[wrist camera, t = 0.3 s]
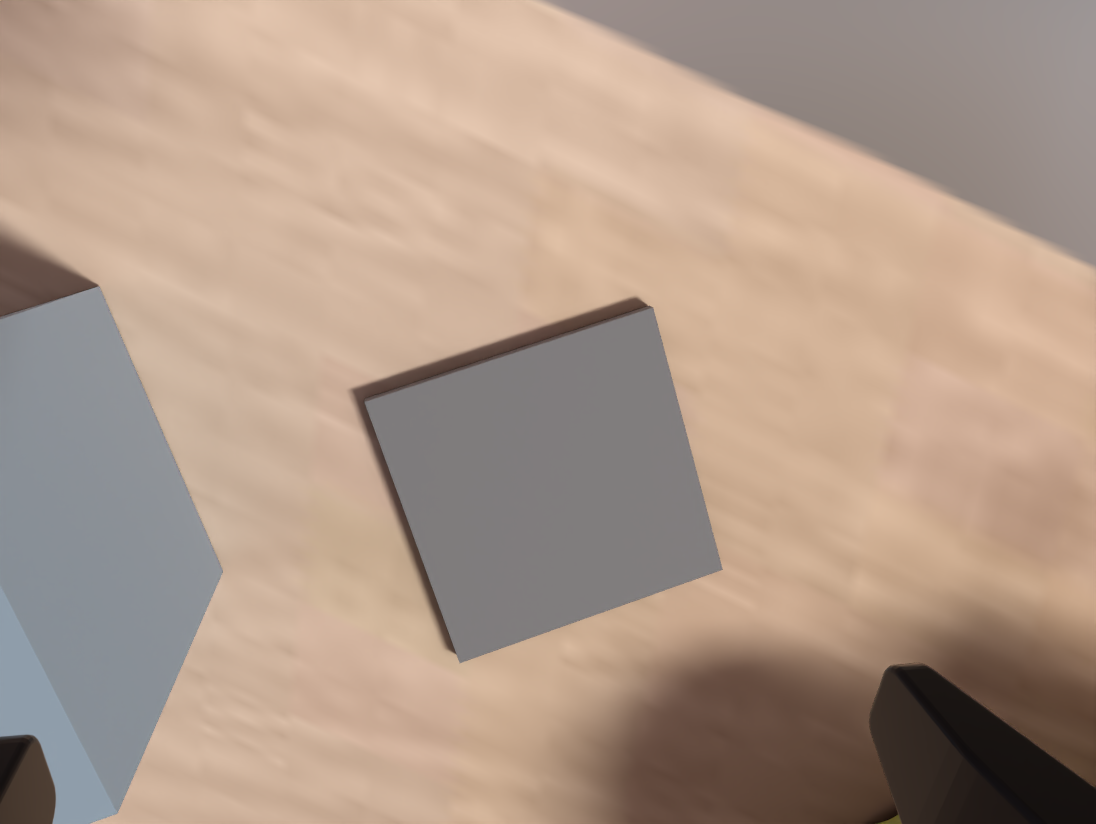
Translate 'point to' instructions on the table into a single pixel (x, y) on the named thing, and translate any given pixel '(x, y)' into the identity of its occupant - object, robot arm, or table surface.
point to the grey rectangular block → (89, 553)
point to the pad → (548, 482)
